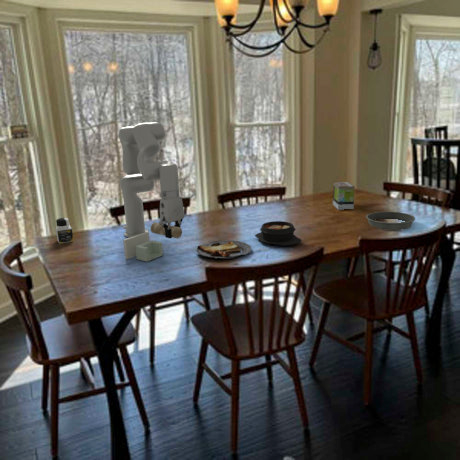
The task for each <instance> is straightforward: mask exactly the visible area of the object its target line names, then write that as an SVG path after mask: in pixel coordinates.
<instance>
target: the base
mask: <svg viewBox="0 0 460 460" xmlns="http://www.w3.org/2000/svg"><path fill="white" fill-rule="evenodd" d="M149 241H150V233H149V231H148V232H145V233H142V234H139V235H136V236H133V237H126V238H124V239H123V243H122V244H123V250H124V251H123V253H124V258H125V260H129V259H132V258H135V257H137V256H136V246H138V245H140V244H143V243H146V242H149Z"/></svg>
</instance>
